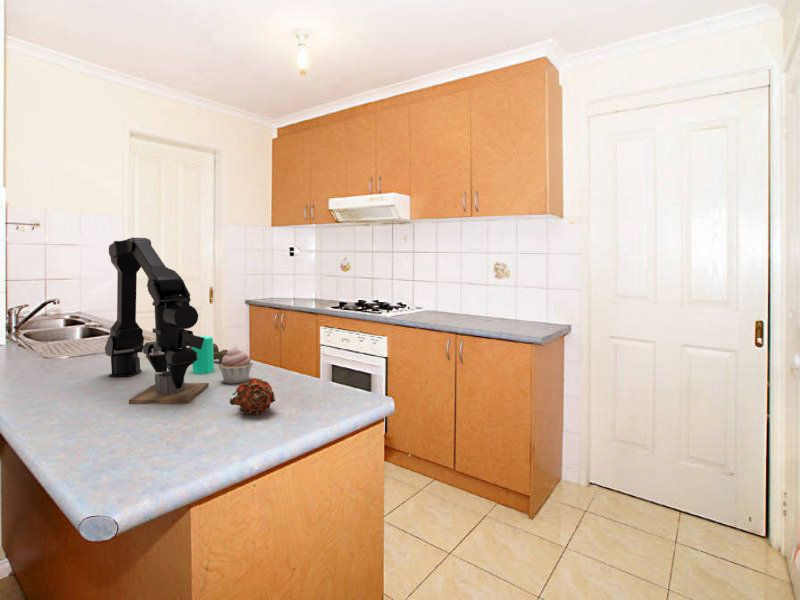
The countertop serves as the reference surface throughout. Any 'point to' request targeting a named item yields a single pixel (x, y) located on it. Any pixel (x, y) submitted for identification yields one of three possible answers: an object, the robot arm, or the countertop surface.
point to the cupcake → (235, 366)
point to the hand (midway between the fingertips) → (170, 384)
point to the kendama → (217, 352)
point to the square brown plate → (182, 397)
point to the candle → (204, 357)
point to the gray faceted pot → (166, 384)
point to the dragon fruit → (253, 396)
